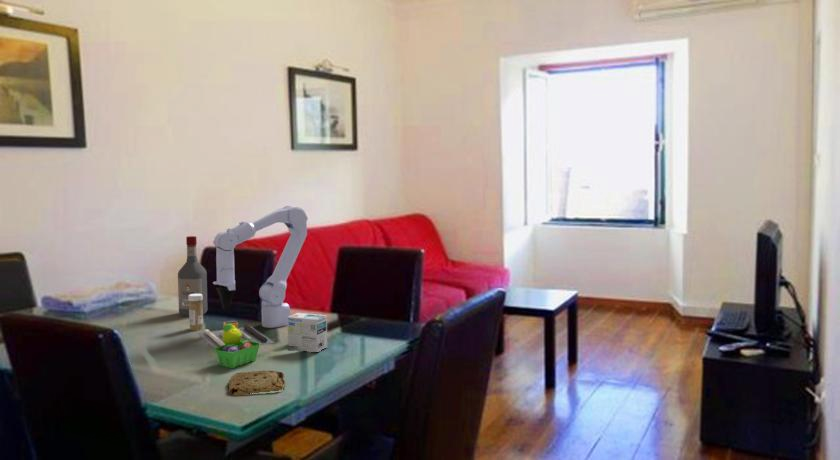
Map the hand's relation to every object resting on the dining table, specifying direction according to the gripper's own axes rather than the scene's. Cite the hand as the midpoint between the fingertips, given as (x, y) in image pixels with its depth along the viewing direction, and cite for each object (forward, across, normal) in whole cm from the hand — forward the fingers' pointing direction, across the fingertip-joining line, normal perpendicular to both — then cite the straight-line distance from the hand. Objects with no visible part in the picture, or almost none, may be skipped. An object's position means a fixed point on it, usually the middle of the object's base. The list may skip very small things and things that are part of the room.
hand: (226, 308), depth 210 cm
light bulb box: (+10, +29, +17) cm, 35 cm away
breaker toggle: (+8, +5, 0) cm, 9 cm away
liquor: (+10, -38, -2) cm, 39 cm away
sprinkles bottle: (+10, -8, -8) cm, 15 cm away
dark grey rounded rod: (+8, +10, +6) cm, 14 cm away
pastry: (+10, +53, -7) cm, 54 cm away
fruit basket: (+10, +31, -6) cm, 33 cm away
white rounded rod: (+8, +10, -7) cm, 14 cm away
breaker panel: (+9, +10, 0) cm, 14 cm away
